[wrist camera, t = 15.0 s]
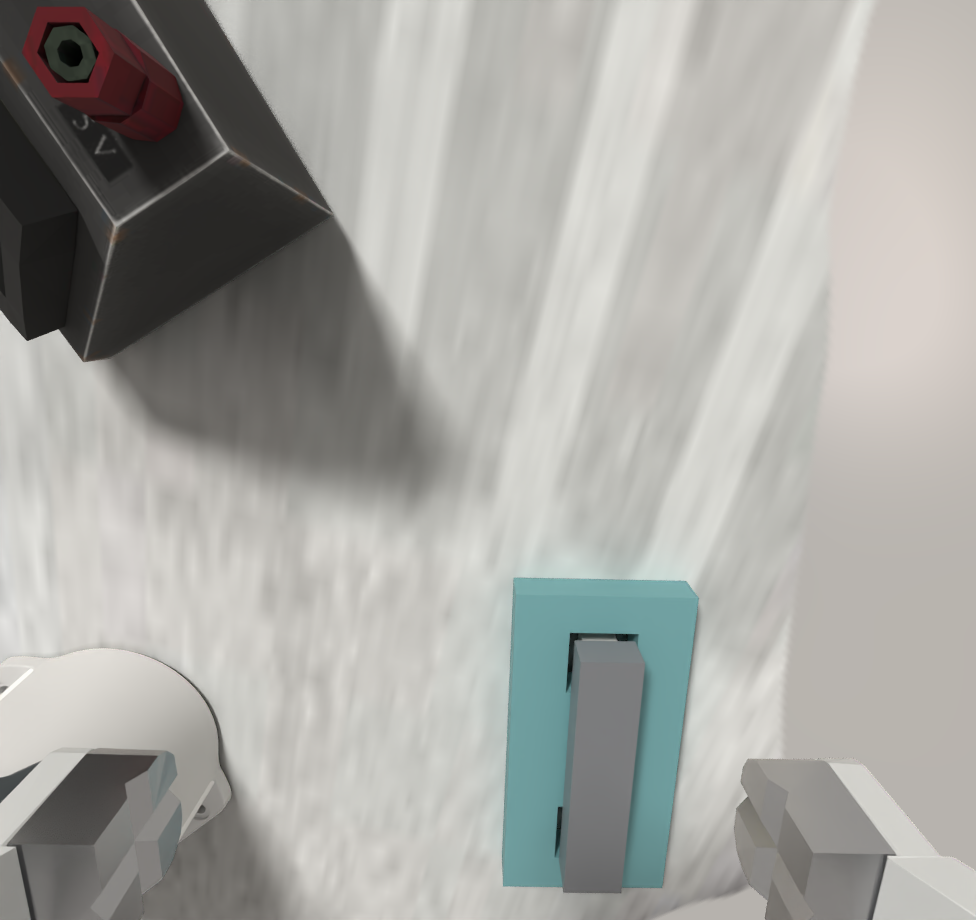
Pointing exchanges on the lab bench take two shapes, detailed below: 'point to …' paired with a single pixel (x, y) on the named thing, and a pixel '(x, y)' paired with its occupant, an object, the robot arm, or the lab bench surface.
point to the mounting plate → (546, 705)
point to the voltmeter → (133, 168)
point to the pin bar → (600, 762)
